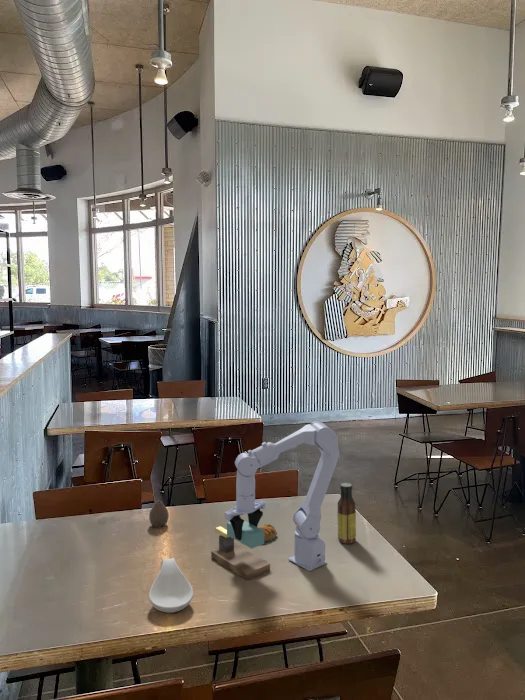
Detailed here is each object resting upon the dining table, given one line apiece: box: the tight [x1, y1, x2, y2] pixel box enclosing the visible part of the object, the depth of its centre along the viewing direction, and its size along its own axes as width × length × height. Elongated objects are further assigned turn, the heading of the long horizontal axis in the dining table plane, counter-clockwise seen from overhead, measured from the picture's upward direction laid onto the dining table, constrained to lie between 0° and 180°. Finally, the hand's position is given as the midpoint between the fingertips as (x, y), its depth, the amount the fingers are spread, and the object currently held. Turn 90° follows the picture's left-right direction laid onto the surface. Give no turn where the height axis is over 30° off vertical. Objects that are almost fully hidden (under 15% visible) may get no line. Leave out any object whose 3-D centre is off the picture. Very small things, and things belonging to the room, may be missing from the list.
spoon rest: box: [148, 557, 194, 614], centre depth 145 cm, size 24×12×7 cm, turn 14°
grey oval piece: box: [148, 500, 170, 528], centre depth 190 cm, size 7×7×9 cm
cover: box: [226, 520, 265, 549], centre depth 160 cm, size 12×5×4 cm, turn 41°
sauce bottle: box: [336, 482, 357, 545], centre depth 179 cm, size 7×6×20 cm
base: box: [210, 535, 271, 581], centre depth 163 cm, size 18×9×6 cm, turn 41°
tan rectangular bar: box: [214, 525, 230, 539], centre depth 169 cm, size 6×2×2 cm, turn 41°
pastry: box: [258, 523, 278, 543], centre depth 181 cm, size 9×7×4 cm
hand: (245, 536), depth 160 cm, fingers closed on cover, 5 cm apart
